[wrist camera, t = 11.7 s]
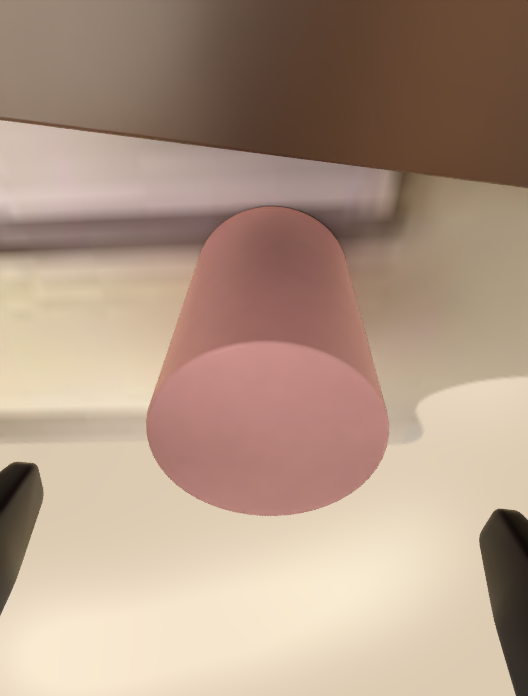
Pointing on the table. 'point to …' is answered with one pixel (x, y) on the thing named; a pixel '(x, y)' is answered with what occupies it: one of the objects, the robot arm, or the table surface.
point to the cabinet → (283, 78)
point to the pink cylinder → (269, 373)
